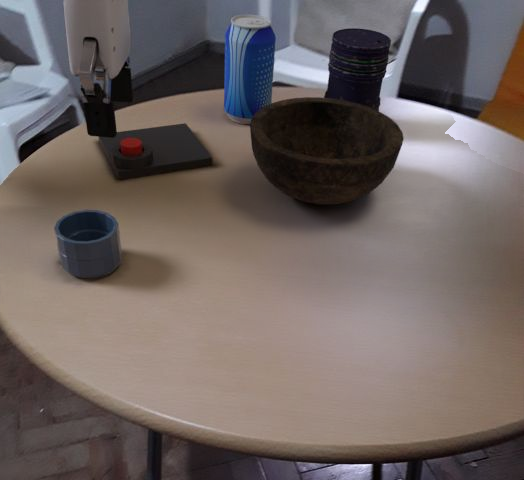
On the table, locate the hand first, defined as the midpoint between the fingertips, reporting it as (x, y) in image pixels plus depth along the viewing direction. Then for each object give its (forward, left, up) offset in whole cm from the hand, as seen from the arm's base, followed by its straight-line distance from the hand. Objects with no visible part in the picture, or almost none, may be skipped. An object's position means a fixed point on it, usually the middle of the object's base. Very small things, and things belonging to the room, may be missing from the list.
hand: (111, 117), depth 74 cm
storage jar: (+46, +20, -16) cm, 53 cm away
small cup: (-6, -6, -16) cm, 18 cm away
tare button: (+6, +16, -13) cm, 22 cm away
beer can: (+30, +29, -16) cm, 45 cm away
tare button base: (+10, +20, -16) cm, 27 cm away
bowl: (+30, +1, -16) cm, 34 cm away
